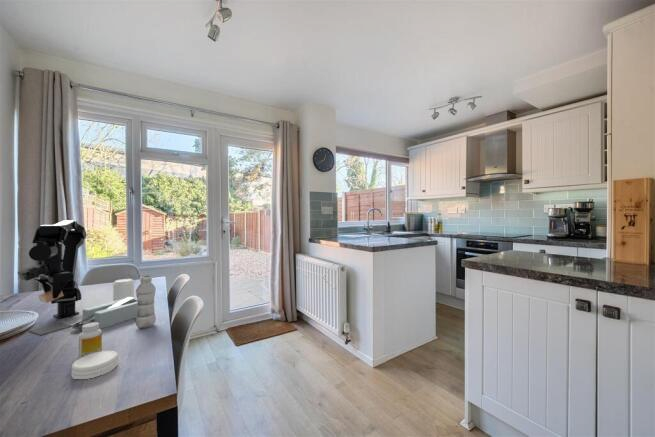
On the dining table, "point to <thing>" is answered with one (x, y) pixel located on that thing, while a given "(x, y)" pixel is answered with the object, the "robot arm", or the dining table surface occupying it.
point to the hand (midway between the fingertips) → (51, 297)
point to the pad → (50, 328)
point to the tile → (48, 296)
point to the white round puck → (94, 364)
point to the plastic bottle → (145, 303)
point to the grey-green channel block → (111, 313)
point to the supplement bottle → (90, 339)
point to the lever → (91, 318)
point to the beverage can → (123, 289)
